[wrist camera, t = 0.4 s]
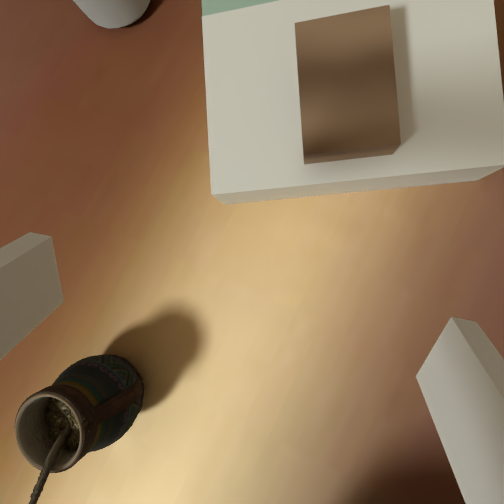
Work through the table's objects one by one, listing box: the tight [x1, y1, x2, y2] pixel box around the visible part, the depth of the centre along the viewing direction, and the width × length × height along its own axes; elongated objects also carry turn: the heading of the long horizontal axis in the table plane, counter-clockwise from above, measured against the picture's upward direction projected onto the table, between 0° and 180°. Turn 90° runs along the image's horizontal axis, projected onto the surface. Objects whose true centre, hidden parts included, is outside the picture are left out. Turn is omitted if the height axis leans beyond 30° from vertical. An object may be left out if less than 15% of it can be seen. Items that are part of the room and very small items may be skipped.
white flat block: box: [202, 0, 504, 205], centre depth 24 cm, size 14×20×4 cm
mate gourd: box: [15, 355, 144, 504], centre depth 24 cm, size 7×8×10 cm
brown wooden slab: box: [295, 5, 401, 164], centre depth 21 cm, size 9×6×2 cm, turn 4°
